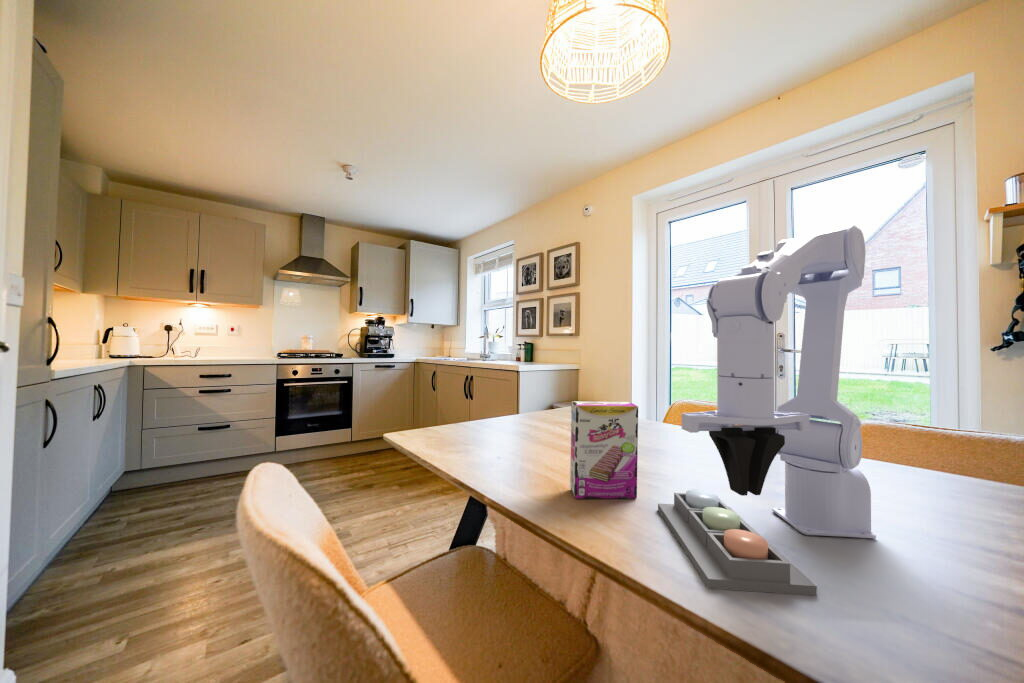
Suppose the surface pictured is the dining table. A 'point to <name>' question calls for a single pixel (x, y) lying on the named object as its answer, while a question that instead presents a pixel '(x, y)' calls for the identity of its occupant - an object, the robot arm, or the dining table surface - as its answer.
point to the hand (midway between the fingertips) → (745, 492)
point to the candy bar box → (604, 449)
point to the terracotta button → (745, 544)
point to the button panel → (719, 564)
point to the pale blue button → (701, 499)
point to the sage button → (720, 519)
